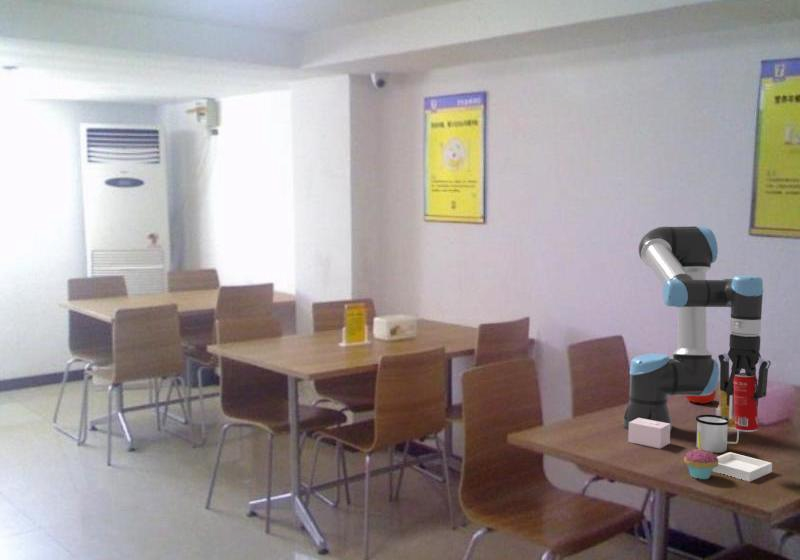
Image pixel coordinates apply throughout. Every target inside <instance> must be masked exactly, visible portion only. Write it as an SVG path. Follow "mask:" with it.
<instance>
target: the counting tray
mask: <svg viewBox="0 0 800 560" xmlns="http://www.w3.org/2000/svg"><path fill="white" fill-rule="evenodd" d="M716 457H717V458H718V466H717V467H714V468H713V470H712V472H713V473H716V474H720V473H721V475H723V474H725V475H724V476H727V475H728V476H727V477H730V476H732V477H731V478H734V477H735V478H734V479H738V480H741V479H742V480H741V481H745V482H753V481H754V480H757V479H759V478H761V477H764V476H766V475H768V474H771V473H772V472H773V462H769V461H766V460H762V459H758V458H754V457H750V456H746V455H742V454H739V453H735V452H731V451H730V452H726V453H723V454H721V455H718V456H716Z"/></svg>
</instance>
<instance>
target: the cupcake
mask: <svg viewBox="0 0 800 560" xmlns="http://www.w3.org/2000/svg"><path fill="white" fill-rule="evenodd" d="M717 457H718V456H717V455H715V453H712V452H710V451H706V450H701V433H700V432H699V433H698V448H695V449H692V450H688V452H686V453H685V454H684V459H683V462H684V463H685V464H686V465H687V468H688V470H689V474H690V477H692V478H693V477H694V478H693V479H697V478H699V479H698V480H708V479H710V477H711V474H712V472H713V471H712V470H713V468H714V467H717V466H718V458H717Z"/></svg>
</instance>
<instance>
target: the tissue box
mask: <svg viewBox="0 0 800 560" xmlns="http://www.w3.org/2000/svg"><path fill="white" fill-rule="evenodd" d="M627 431H628V436H627V442H628V443H633V444H638V445H641V446H647V447H650V448H656V449H662V448H664V447H665V446H667V445H670V443H671V441H670V440H671V439H670V438H671V431H670V424H669V423H664V422H659V421H654V420H648V419H643V418H637V419H635V420H633V421H631V422H629V429H628V430H627Z"/></svg>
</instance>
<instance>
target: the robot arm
mask: <svg viewBox="0 0 800 560" xmlns="http://www.w3.org/2000/svg"><path fill="white" fill-rule="evenodd" d="M718 249H719V248H718V242H717V238H716V235H715V234H714V232H713V230H711V229H710V228H709V227H705V226H696V225H695V226H659V227H656V228H652V229H651V230H650V231H648V232H647V233H646V234H645V235H643V237H642V238H641V240H640V242H639V244H638V254H639V257H640V260H641V261H642V262H643V263H644V265H646V266H647V267H650V268H651V269H652V271H653V272H654V274H655V275H656V276H657V278H658V280H659V281H660V282H661V283H662V292H661V293H662V299H663V302H664V304H665V305H666V306H667V307H676V308H677V349H676V350H675V351H673V353H672V356H673V358H670V357H669V355H668V354H665V353H656V352H655V353H645V354H640V355H637V356H635V357H634V358H632V359H631V361H630V369H629V396H628V397H629V401H628V404H627V407H626V410H625V412H624V415H623V417H622V418H623V419H622V426H623V427H624V428H625V429H627V430H629V422H631V421H633V420H635V419H637V418H643V419H648V420H654V421H659V422H664V423H669V424H670V432H671V431H672V430H673V421H672V417H671V413H670V410H669V407H668V397H669V396H680V397H681V396H685V397H686V396H706V395H710V394H712V393H713V392H714V390H716V389H717V386H718V383H719V390H720V391H721V392H724V393H726V406H727V407H729V409H728V419H729V420H735V412H734V380H733V379H734V377H735V375H736V374H738V373H741V371H742V369H743V370H744V371H745V372H744V373H746V374H747V376H754V375H755V376H756V379H757V394H755V392H754V397H751V400H752V399H755V405H756V404H757V408H758V409H759V399H762V398H765V397H767V386H768V375H769V374H768V373H769V368H770V366H771V365H772V362H771V361H770V360H767V359H764V358H762V356H761V353H760V349H761V336H760V334H761V333H762V313H763V311H762V310H763V296H764V295H763V294H764V287H763V285H764V284H763V283H764V281H763V278H762V277H761V276H758V275H743V274H741V275H735V276H733V277H732V278H723V279H707V277H706V276H707V273H708V272H709V270H711V267H712V264H713V263H715V262H716V261H717V259H718V255H719V254H718V253H719V250H718ZM707 308H730V322H729V323H730V325H729V327H730V328H729V331H730V334H729V343H728V344H729V350H728V352H727V353H721V354H719V355H718V359H719V360H718V361H719V363H720V364H719V363H718V361H717V360H716V359H714V358H712V357H713V356H712V355H713V354H712V352H711V351H709V350H708V348H707ZM730 361H731V362H732V364H731V368H730ZM757 364H758V367H759V369H758V378H757V366H756V365H757ZM719 367H720V368H719ZM730 370H731V371H730Z"/></svg>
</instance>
